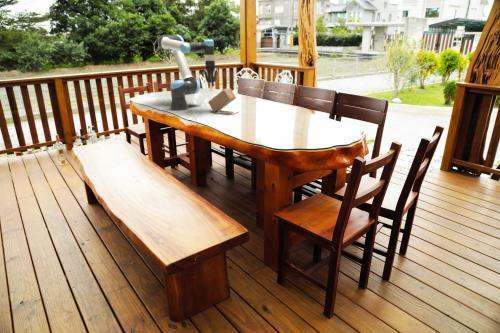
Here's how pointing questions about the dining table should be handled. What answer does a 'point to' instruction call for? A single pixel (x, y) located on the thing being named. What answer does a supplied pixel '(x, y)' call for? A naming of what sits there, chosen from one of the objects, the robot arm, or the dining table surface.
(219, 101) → the wooden block
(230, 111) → the mat
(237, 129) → the dining table surface
